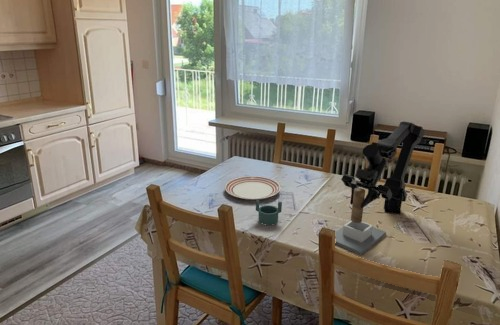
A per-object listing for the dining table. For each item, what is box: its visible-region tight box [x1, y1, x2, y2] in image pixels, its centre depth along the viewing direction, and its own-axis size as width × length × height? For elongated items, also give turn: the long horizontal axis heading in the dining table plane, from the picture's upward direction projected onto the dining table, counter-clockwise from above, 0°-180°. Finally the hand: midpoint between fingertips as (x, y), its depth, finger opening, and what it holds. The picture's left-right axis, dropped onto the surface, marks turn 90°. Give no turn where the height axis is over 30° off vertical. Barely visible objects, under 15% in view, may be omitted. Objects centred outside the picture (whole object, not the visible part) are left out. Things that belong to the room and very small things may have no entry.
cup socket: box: [334, 220, 387, 256], centre depth 138 cm, size 20×14×5 cm
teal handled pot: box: [255, 199, 283, 226], centre depth 150 cm, size 9×9×9 cm
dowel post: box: [350, 187, 366, 223], centre depth 135 cm, size 4×4×12 cm
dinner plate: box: [224, 175, 282, 201], centre depth 179 cm, size 27×27×3 cm
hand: (356, 205), depth 134 cm, fingers closed on dowel post, 4 cm apart
